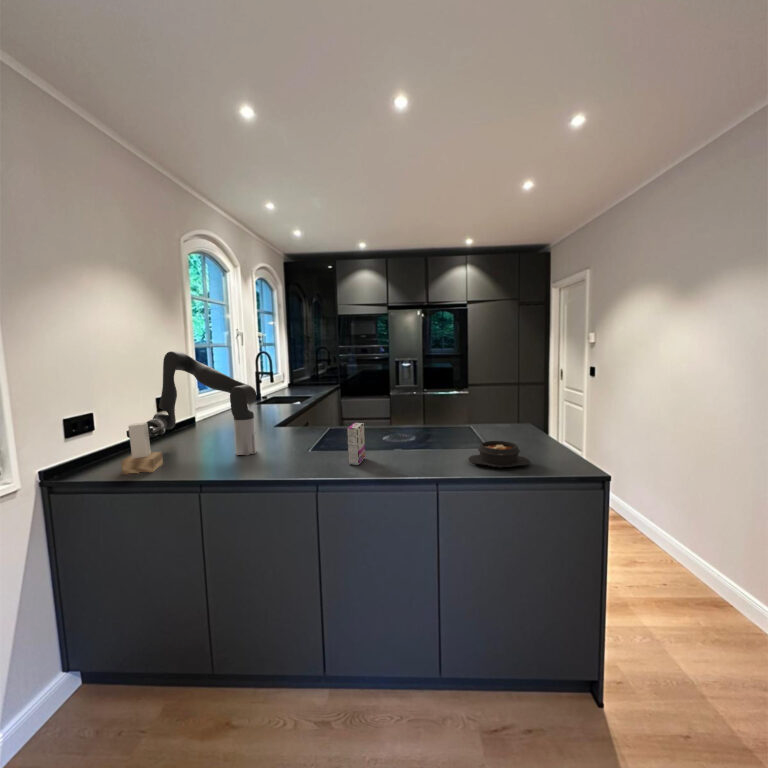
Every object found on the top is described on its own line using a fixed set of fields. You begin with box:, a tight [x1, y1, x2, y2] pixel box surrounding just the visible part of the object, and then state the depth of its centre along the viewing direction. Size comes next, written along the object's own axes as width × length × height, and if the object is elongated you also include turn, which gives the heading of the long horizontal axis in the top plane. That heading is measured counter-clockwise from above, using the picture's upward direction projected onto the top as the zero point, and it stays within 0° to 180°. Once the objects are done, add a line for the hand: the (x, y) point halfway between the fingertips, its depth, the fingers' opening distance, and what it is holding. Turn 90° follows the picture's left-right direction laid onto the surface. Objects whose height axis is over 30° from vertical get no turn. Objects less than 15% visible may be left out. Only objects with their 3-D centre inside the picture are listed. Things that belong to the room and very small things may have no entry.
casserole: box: [467, 440, 531, 468], centre depth 168 cm, size 25×19×8 cm
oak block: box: [120, 451, 164, 475], centre depth 174 cm, size 12×12×6 cm
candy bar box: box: [346, 422, 366, 464], centre depth 176 cm, size 11×5×16 cm, turn 168°
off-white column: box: [127, 422, 152, 458], centre depth 173 cm, size 6×6×14 cm
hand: (140, 435), depth 172 cm, fingers open, 8 cm apart
